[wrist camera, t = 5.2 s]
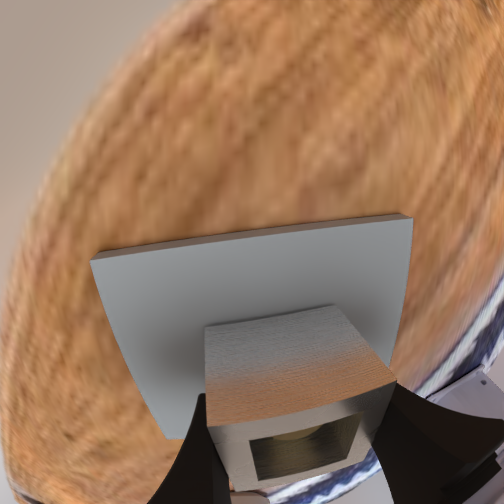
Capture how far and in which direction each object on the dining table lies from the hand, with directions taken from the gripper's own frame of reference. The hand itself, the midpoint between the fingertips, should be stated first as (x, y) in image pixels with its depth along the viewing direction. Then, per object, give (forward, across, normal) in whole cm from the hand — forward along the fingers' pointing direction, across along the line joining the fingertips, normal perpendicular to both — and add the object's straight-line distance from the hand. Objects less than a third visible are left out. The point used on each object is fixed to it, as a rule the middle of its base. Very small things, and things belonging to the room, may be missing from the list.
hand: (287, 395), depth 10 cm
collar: (+2, 0, 0) cm, 2 cm away
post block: (+3, 0, 0) cm, 3 cm away
